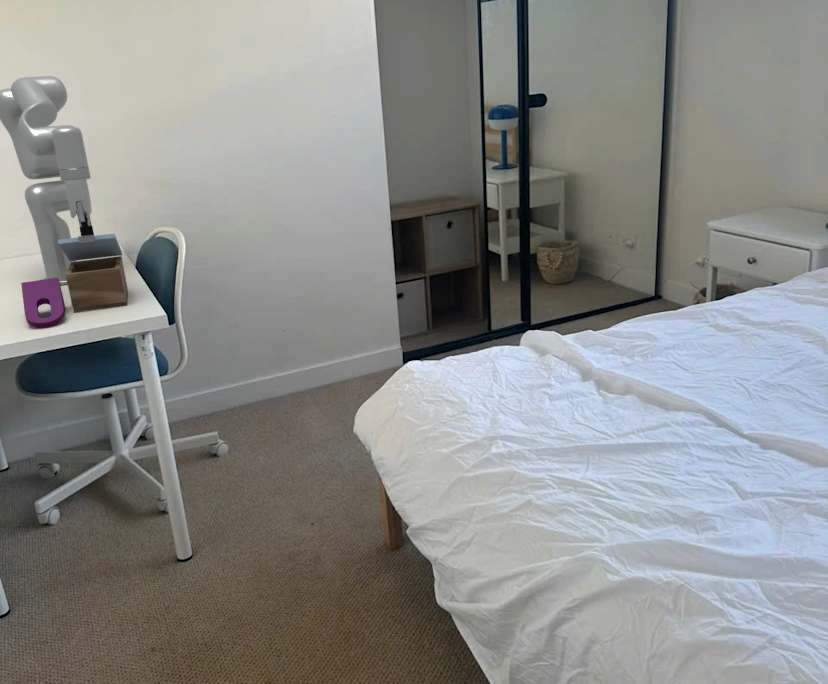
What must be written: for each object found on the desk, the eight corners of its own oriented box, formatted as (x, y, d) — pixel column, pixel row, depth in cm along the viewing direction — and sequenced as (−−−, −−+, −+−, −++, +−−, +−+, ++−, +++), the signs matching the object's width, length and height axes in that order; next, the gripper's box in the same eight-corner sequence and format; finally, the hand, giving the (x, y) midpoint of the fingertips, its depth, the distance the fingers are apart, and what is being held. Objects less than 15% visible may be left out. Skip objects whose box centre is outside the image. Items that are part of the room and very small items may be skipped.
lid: (70, 263, 217) (69, 257, 217) (122, 257, 221) (121, 251, 222) (58, 245, 201) (57, 238, 201) (115, 239, 205) (114, 232, 205)
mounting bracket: (71, 342, 202) (64, 300, 213) (65, 319, 196) (58, 277, 207) (32, 348, 199) (28, 305, 210) (25, 325, 193) (21, 282, 204)
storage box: (78, 297, 221) (71, 262, 217) (128, 291, 225) (121, 256, 221) (73, 312, 207) (65, 274, 203) (126, 305, 211) (119, 268, 207)
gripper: (62, 172, 207) (76, 237, 214) (57, 178, 194) (71, 247, 200) (91, 170, 210) (104, 234, 216) (87, 176, 196) (101, 244, 203)
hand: (88, 240), depth 208 cm, fingers closed
